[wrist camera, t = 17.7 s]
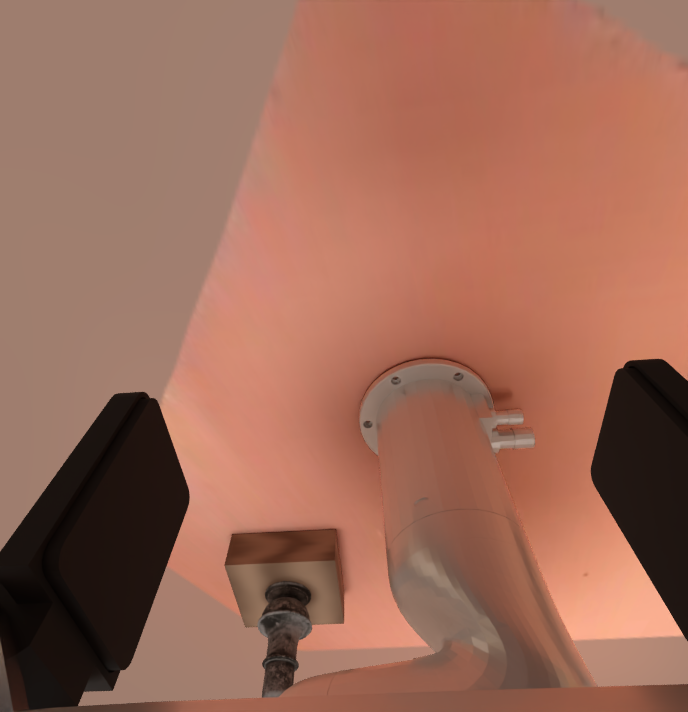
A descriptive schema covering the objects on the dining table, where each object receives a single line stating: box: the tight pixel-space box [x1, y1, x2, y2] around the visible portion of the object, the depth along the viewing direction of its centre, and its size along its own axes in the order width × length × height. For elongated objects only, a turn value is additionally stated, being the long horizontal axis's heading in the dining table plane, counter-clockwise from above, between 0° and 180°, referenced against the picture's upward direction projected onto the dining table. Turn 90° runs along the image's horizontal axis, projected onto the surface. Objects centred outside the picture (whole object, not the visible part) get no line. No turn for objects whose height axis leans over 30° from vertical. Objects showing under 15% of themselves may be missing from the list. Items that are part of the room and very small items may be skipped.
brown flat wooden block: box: [225, 529, 344, 627], centre depth 56 cm, size 12×12×4 cm
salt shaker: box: [257, 581, 312, 698], centre depth 49 cm, size 6×6×12 cm
